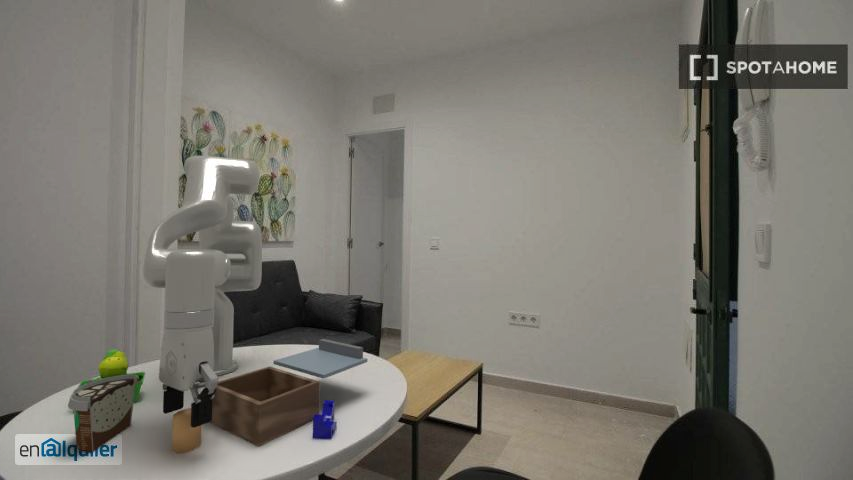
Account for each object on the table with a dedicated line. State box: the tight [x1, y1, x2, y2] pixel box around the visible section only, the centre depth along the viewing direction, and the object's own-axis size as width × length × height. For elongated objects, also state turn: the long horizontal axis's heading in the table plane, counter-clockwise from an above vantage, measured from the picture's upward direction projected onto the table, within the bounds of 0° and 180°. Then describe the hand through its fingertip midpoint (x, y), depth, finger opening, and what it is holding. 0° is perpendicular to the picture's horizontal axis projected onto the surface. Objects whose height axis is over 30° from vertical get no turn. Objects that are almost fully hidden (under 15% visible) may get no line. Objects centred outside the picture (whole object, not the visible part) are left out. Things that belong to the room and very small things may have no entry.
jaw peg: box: [171, 407, 202, 454], centre depth 67 cm, size 4×4×6 cm
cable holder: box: [312, 400, 337, 440], centre depth 74 cm, size 8×4×4 cm, turn 179°
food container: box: [67, 374, 137, 453], centre depth 68 cm, size 12×6×10 cm, turn 5°
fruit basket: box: [77, 349, 146, 404], centre depth 84 cm, size 11×9×11 cm
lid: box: [272, 338, 368, 379], centre depth 90 cm, size 17×14×3 cm
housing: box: [209, 366, 321, 448], centre depth 77 cm, size 17×14×8 cm
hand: (186, 417), depth 66 cm, fingers open, 9 cm apart
